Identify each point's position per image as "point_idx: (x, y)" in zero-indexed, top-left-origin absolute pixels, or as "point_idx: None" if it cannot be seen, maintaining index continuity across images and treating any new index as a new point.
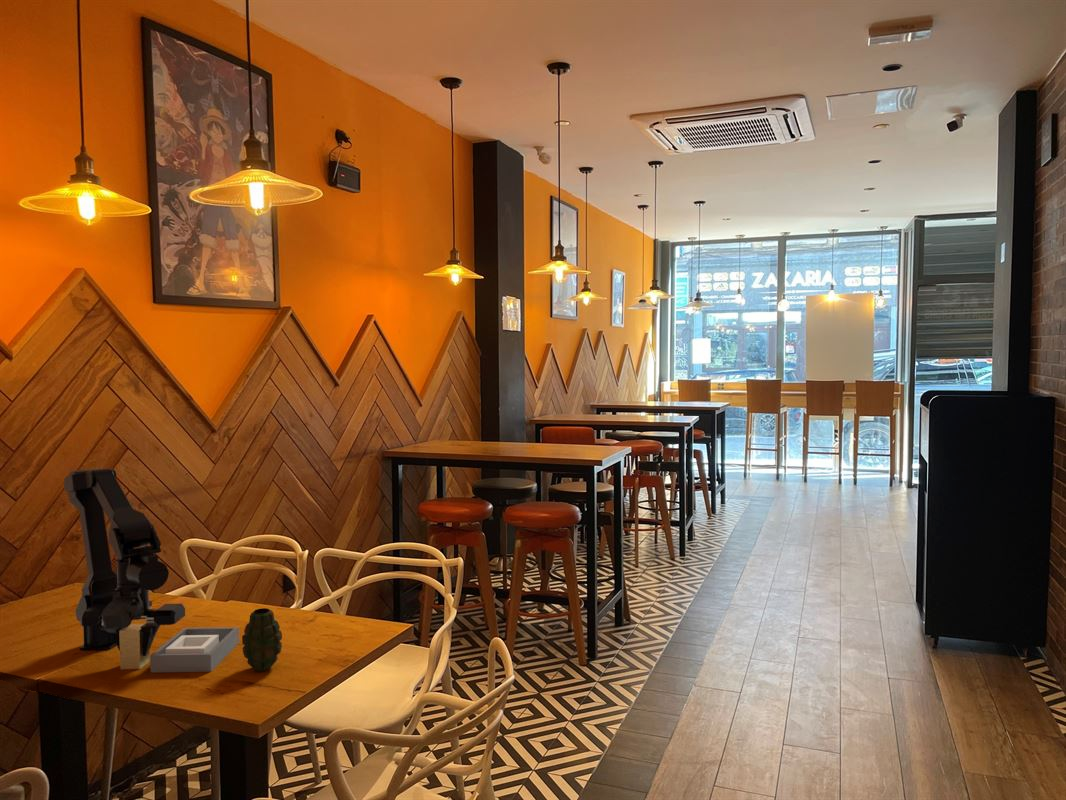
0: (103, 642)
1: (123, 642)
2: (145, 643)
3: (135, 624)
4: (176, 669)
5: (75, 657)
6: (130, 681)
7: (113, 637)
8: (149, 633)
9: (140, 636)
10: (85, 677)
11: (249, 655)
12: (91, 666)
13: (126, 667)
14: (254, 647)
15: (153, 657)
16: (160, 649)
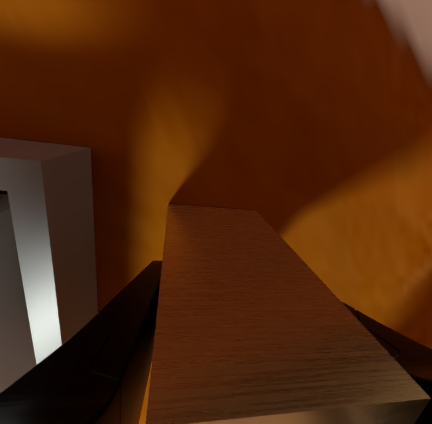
0: None
1: (299, 288)
2: (129, 302)
3: None
4: None
5: (417, 321)
6: (149, 29)
7: (400, 334)
8: (18, 389)
9: (155, 345)
10: (374, 139)
11: None
12: (366, 250)
13: (231, 210)
14: None
15: (22, 157)
16: (28, 274)
